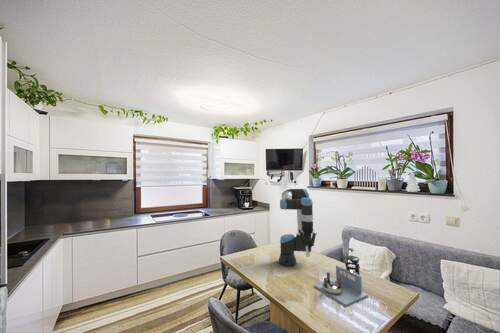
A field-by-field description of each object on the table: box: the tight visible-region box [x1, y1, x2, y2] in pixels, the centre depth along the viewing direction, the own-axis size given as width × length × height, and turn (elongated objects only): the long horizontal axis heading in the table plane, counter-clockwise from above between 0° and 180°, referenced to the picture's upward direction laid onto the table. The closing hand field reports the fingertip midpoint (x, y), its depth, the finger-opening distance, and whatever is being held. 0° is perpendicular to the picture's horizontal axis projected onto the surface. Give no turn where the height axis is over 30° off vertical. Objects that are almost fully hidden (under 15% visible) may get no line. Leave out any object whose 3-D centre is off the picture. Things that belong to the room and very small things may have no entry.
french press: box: [344, 248, 361, 276], centre depth 139 cm, size 12×9×23 cm
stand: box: [313, 264, 369, 307], centre depth 128 cm, size 24×20×11 cm
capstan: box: [323, 271, 343, 295], centre depth 128 cm, size 12×12×8 cm
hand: (308, 256), depth 134 cm, fingers closed
